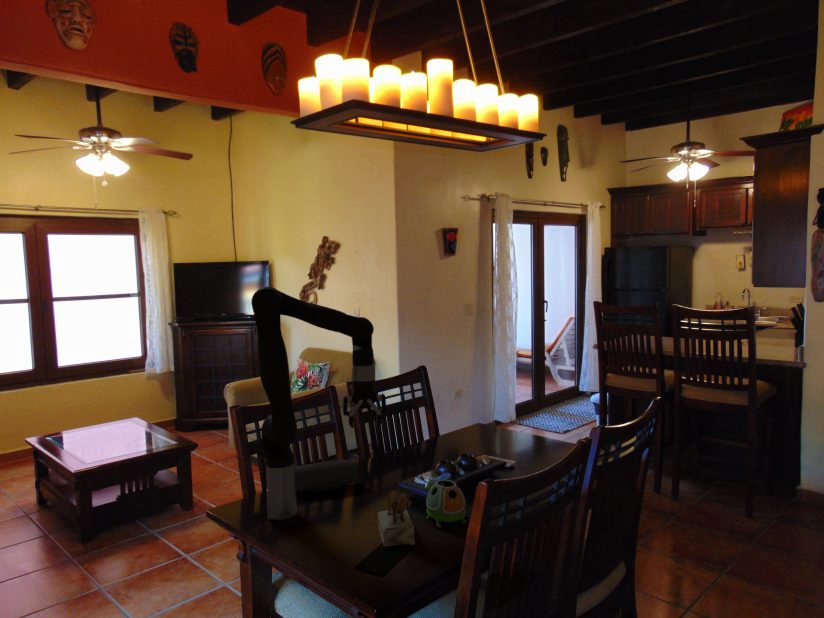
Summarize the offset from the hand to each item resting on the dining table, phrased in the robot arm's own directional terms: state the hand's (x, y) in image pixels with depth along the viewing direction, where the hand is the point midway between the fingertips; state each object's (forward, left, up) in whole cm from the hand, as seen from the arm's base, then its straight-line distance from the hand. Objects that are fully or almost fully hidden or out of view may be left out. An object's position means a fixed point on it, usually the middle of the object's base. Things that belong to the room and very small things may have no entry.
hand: (365, 426), depth 193 cm
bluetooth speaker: (-13, +21, -28) cm, 38 cm away
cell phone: (+1, -34, -29) cm, 44 cm away
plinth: (+6, -22, -28) cm, 36 cm away
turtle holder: (+23, -13, -28) cm, 39 cm away
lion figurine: (+7, -22, -23) cm, 32 cm away
